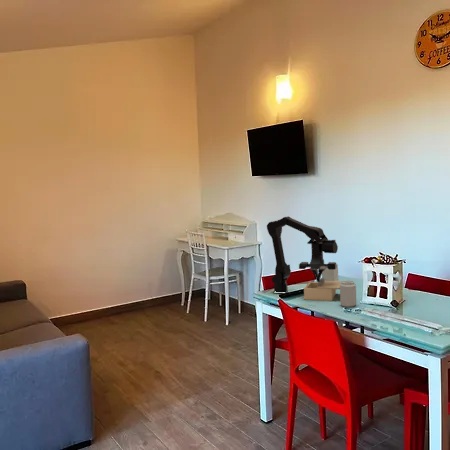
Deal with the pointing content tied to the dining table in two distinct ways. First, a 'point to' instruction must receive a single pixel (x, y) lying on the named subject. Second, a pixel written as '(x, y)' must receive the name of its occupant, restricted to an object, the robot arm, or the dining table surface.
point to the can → (348, 293)
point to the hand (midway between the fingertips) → (318, 281)
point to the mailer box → (318, 292)
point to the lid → (328, 284)
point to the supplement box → (330, 274)
